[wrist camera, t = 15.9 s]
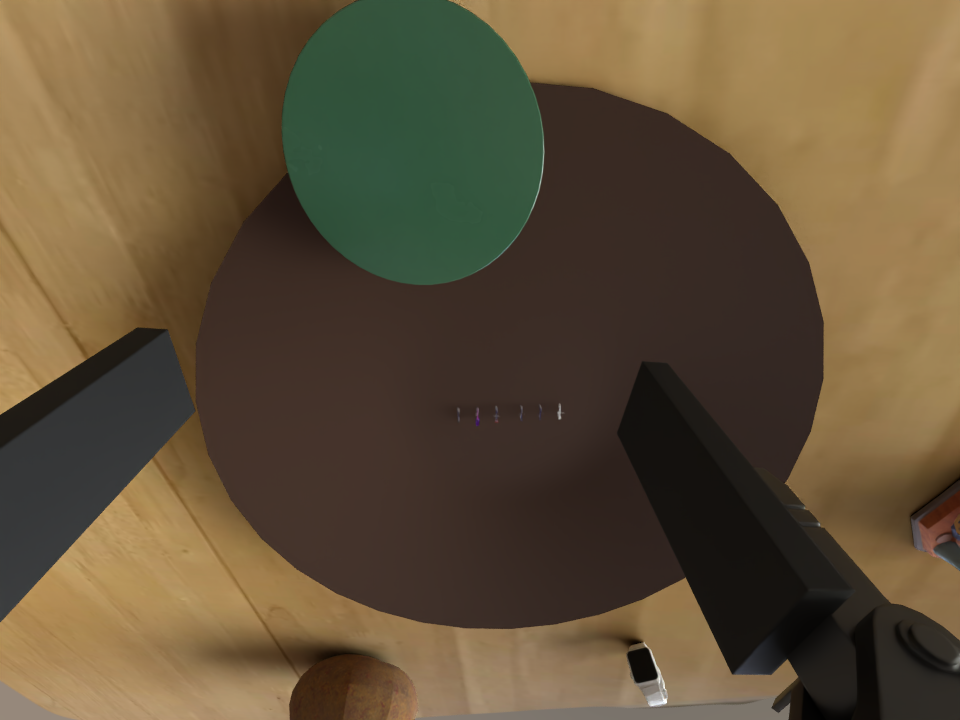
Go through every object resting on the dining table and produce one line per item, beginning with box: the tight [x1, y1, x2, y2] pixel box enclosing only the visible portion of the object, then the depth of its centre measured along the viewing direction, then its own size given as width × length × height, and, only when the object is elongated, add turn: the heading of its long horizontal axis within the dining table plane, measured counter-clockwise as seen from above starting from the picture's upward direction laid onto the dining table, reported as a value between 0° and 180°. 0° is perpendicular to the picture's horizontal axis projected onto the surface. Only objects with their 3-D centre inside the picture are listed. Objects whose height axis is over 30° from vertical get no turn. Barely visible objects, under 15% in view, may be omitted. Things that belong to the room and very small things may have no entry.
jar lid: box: [282, 0, 544, 285], centre depth 13 cm, size 8×8×2 cm
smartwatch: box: [626, 642, 668, 707], centre depth 32 cm, size 4×2×4 cm, turn 27°
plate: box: [196, 83, 824, 629], centre depth 19 cm, size 28×28×4 cm
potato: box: [289, 654, 418, 720], centre depth 31 cm, size 7×10×6 cm
